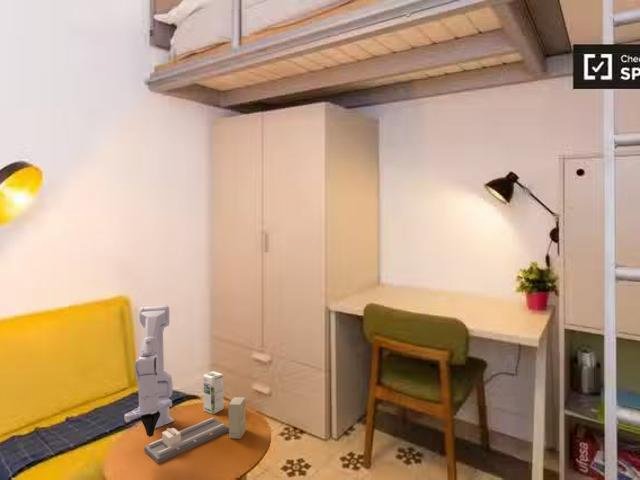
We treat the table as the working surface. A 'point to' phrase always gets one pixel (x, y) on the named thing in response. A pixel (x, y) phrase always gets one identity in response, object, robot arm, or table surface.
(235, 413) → the skincare box
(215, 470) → the table surface
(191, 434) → the gray slider track
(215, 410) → the syrup box
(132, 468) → the table surface
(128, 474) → the table surface
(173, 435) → the fader tab
